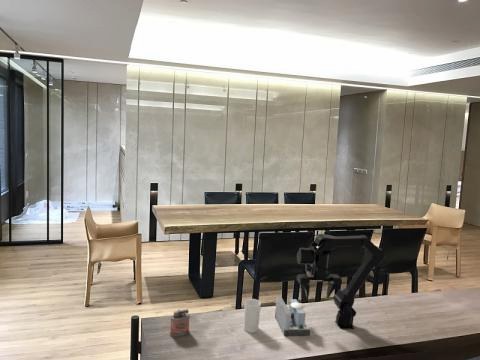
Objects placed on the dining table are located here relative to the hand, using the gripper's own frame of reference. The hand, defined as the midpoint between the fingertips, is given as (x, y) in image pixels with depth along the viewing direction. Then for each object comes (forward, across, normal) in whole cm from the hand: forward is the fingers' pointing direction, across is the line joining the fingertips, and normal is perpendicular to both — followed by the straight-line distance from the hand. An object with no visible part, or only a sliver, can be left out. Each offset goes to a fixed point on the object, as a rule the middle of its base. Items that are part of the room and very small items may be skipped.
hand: (317, 298), depth 177 cm
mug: (+13, +29, 0) cm, 32 cm away
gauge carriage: (+13, +9, +1) cm, 15 cm away
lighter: (+13, +59, +4) cm, 61 cm away
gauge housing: (+13, +11, 0) cm, 17 cm away
